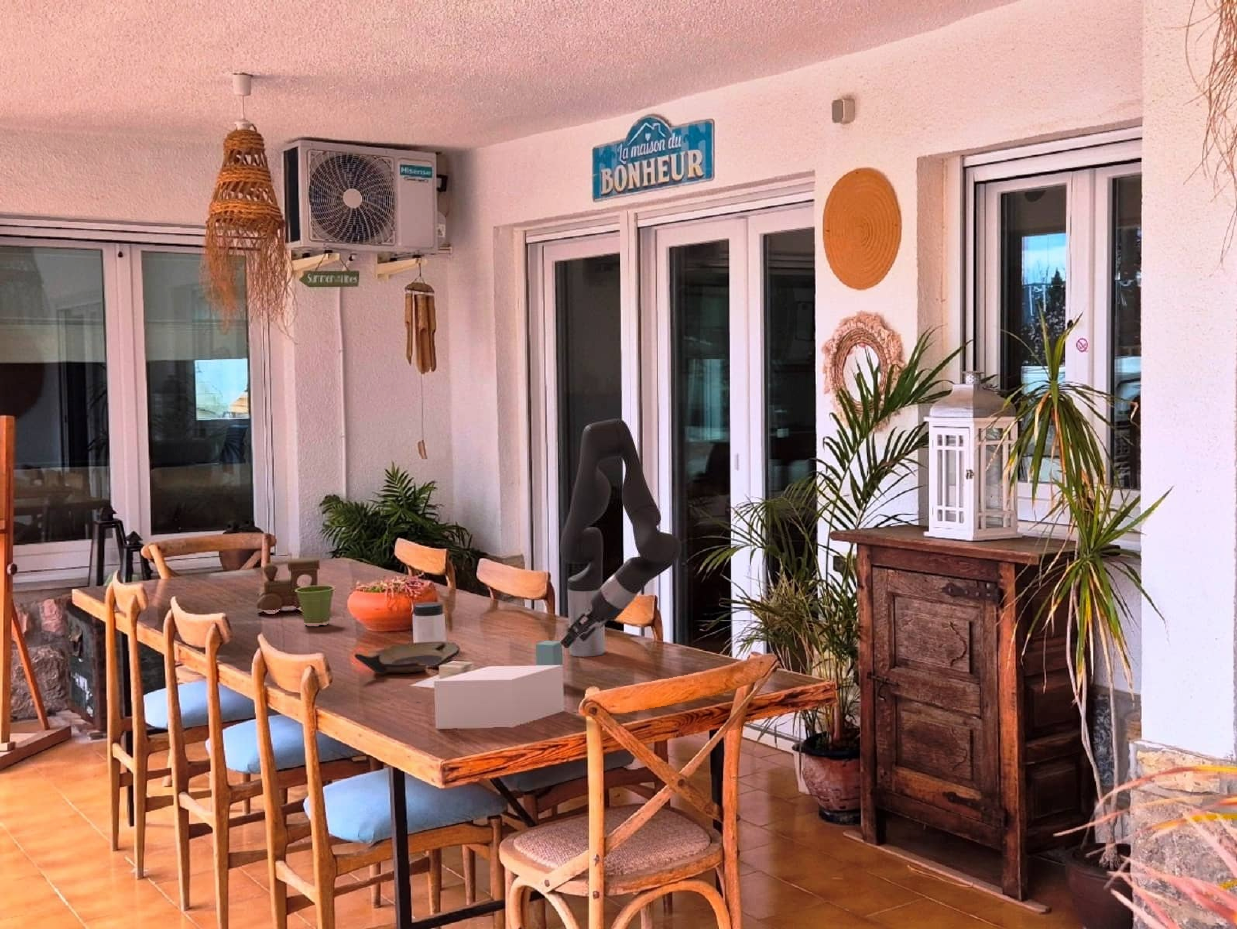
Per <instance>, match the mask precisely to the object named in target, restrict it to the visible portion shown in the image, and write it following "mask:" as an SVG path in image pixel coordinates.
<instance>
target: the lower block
mask: <svg viewBox="0 0 1237 929" xmlns="http://www.w3.org/2000/svg"><path fill="white" fill-rule="evenodd" d="M474 670H475V662H472V661H471V662H470V661H460V660H459V661H458V660H451V661H448V662H446V663H444V664H442V665H440V666H438V672H439V673H438V675H439V680H440V679H444V678H447V677H451V676H455V675H459V674H462V673H466V672H470V671H474Z"/></svg>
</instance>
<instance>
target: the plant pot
mask: <svg viewBox="0 0 1237 929" xmlns="http://www.w3.org/2000/svg"><path fill="white" fill-rule="evenodd" d="M307 586H308V585H307ZM307 586H301V587H302V588H298V589H296V590H295V592H297V595H298V599H299V601H300V606H301V610H302V612H301V615H302V619H303V623H304V622H305V623H323V622H327V621H329V622H330V619H331V608H332V601H333V600H332V598H333V594H334V590H336V587H335V586H334V585H317V586H308V587H307Z"/></svg>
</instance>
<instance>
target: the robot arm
mask: <svg viewBox="0 0 1237 929" xmlns="http://www.w3.org/2000/svg"><path fill="white" fill-rule="evenodd" d="M617 458H621V460H623V463H624V467H625V470H624V471H625V472H624V473H625V474H624V477H623V478H624V479H623V482H622V483H623V484H622V488H621V502H622V506H623V508H624V512H626V515H627V517H628V520H629V522H630V523H631V525H632V534H633V538H634V545H635V548H636V551H637V552H638V554H639V556H632V557H629V558H628V559H626V560H625V562H624V563H623V564H622V565H621V566H620V567H619V568H618V569H617V571H616V572H614V573H613V574H612V575H611V576H610V577H609V578H608V579H607V580H606V581H605V582H604V583H603V581H604V580H603V577H604V576H603V575H604V574H603V572H604V571H603V570H604V569H603V568H604V567H603V561H604V560H603V559H604V558H603V557H604V556H603V555H604V540H603V539H604V538H603V534H602V532H601V529H599V527H592V525H593V524H594V523H595V522H597V521H598V520H599V519H600V518H601V517H602V516H603V515H604V514H605V512H606V510H607V509H608V505H609V501H610V499H611V498H610V497H611V493H612V487H611V484H610V481H609V479H608V478H607V476H606V475H605V474H604V473H603V472H602V470H600V468H599V464H600V463H602V462H603V461H608V460H613V459H617ZM643 470H644V469H643V468H642V464H641V461H640V457H639V454H638V451H637V448H636V444H635V440H634V438H633V436H632V432H631V430H630V427H629V426H628V424H627V422H625V420H623V419H621V418H612V419H607V420H601V421H597V422H593V423H589V424H588V425H586V426H585V427H584V429H583V432H582V435H581V443H580V453H579V465H578V469H577V475H576V479H575V482H574V487H573V491H572V496H571V501H570V508H569V511H568V516H567V519H566V522H565V525H564V527H563V531H562V534H561V537H560V545H559V552H560V556H561V559H562V561H563V562H565V563H567V564H573V565H575V564H587V566H586V567H585V568H584V570H582V571H580V572H578V573H577V574H575V575H572V576H570V577H568V579H567V584H566V585H567V608H568V612H567V613H568V628H567V629H566V632H567V634H566V635H565V636H564V637H563V638H562V639H561V640H560V642H561V644H562V647H564V649H568V648H569V655H570V656H573V657H582V658H583V657H584V658H585V657H597V656H601V655H603V654H605V651H606V640H605V639H606V634H605V630H606V629H605V624H606V623H607V622H608V621H612V622H613V621H615V620H616V619H617V618H618V617H619V616H620V615H621V614H622V613H623V612H624V611H625V610H626V608H628V606H629V605H630V604H631V603H632V602H633V601H634V599H635V598H636V597H637V595H638V594H639V593H640V592H641V591H642V590H643V588H645V586H647V584H648V583H649V581H651V580H653V579H655V578H656V577H658V576H660V575H661V574H662V573H664V572H665V571H667V570H668V569H669V568H671V567H672V566H673V565H674V564H675V563H676V562H677V560H678V559H679V557H680V555H681V553H682V552H681V551H682V543H681V541H680V539H679V538H678V537H677V536H676V535H674V534H672V533H668V532H664V531H660V530H659V528H658V526H659V524H661V520H662V516H661V512H660V509H659V508H658V506H657V503H656V502H655V499H654V498H653V495H652V492H651V490H650V489H649V486H648V483H647V481H646V478H645V475H644V471H643ZM590 526H591V527H590Z"/></svg>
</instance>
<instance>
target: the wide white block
mask: <svg viewBox="0 0 1237 929" xmlns="http://www.w3.org/2000/svg"><path fill="white" fill-rule="evenodd" d="M433 690H434V691H433V692H434V713H435V714H434V719H435V721H434V722H435V729H436V728H437V729H436V730H440V729H441V730H443V729H445V730H448V729H452V730H453V728H454V729H455V728H457V729H491V728H492V729H494V728H493V727H509V728H515V726H516V727H518V726H517V725H519V726H521V725H520V724H522V725H525V724H528V723H531V722H534V721H537V720H540V719H543V717H544V718H547V717H549V716H552V715H556V714H558V713H562V712H564V711H565V701H564V696H565V695H564V666H563V665H538V666H537V665H505V666H504V665H501V666H500V665H499V666H497V665H495V666H493V665H492V666H485V667H482V668H478V669H474V671H470V672H466V673H462V674H459V675H455V676H451V677H447V678H444V679H440V680H436V681H434V688H433ZM533 720H534V721H533ZM530 721H531V722H530ZM527 722H528V723H527ZM524 723H525V724H524Z"/></svg>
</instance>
